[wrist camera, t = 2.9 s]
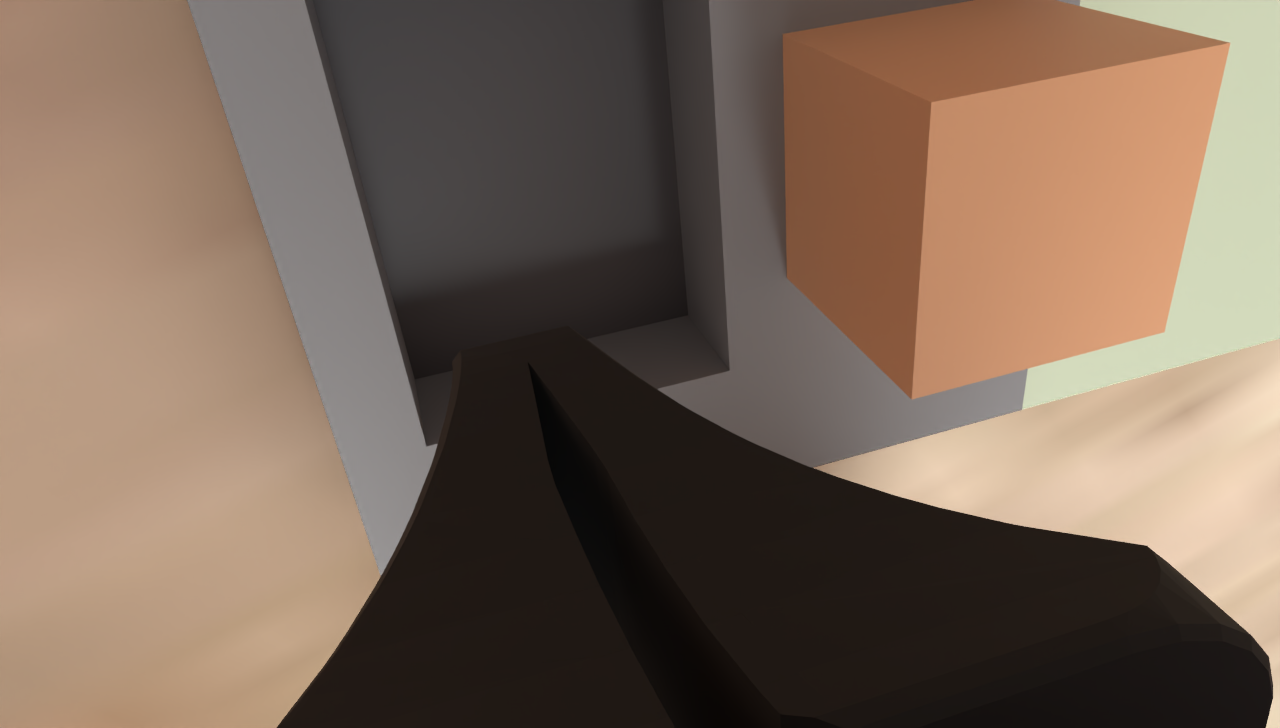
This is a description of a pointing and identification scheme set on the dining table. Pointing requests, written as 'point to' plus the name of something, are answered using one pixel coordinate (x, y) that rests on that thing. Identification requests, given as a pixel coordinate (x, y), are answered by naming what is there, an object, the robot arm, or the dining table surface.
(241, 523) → the dining table surface
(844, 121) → the block
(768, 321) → the trap deck
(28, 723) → the dining table surface
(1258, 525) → the dining table surface
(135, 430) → the dining table surface
